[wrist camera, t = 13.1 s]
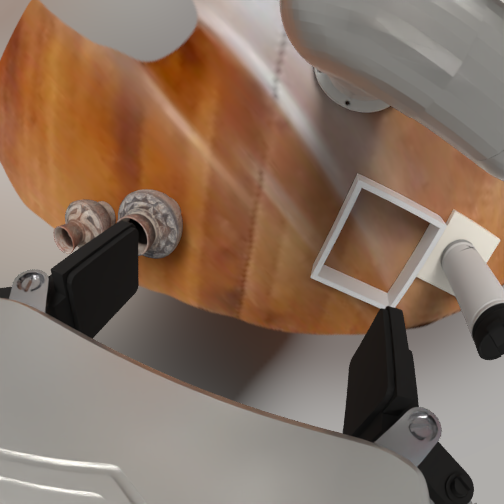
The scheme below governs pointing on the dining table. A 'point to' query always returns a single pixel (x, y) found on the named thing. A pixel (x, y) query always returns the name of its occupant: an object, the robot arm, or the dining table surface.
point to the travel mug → (476, 296)
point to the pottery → (131, 210)
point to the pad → (455, 230)
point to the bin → (411, 267)
